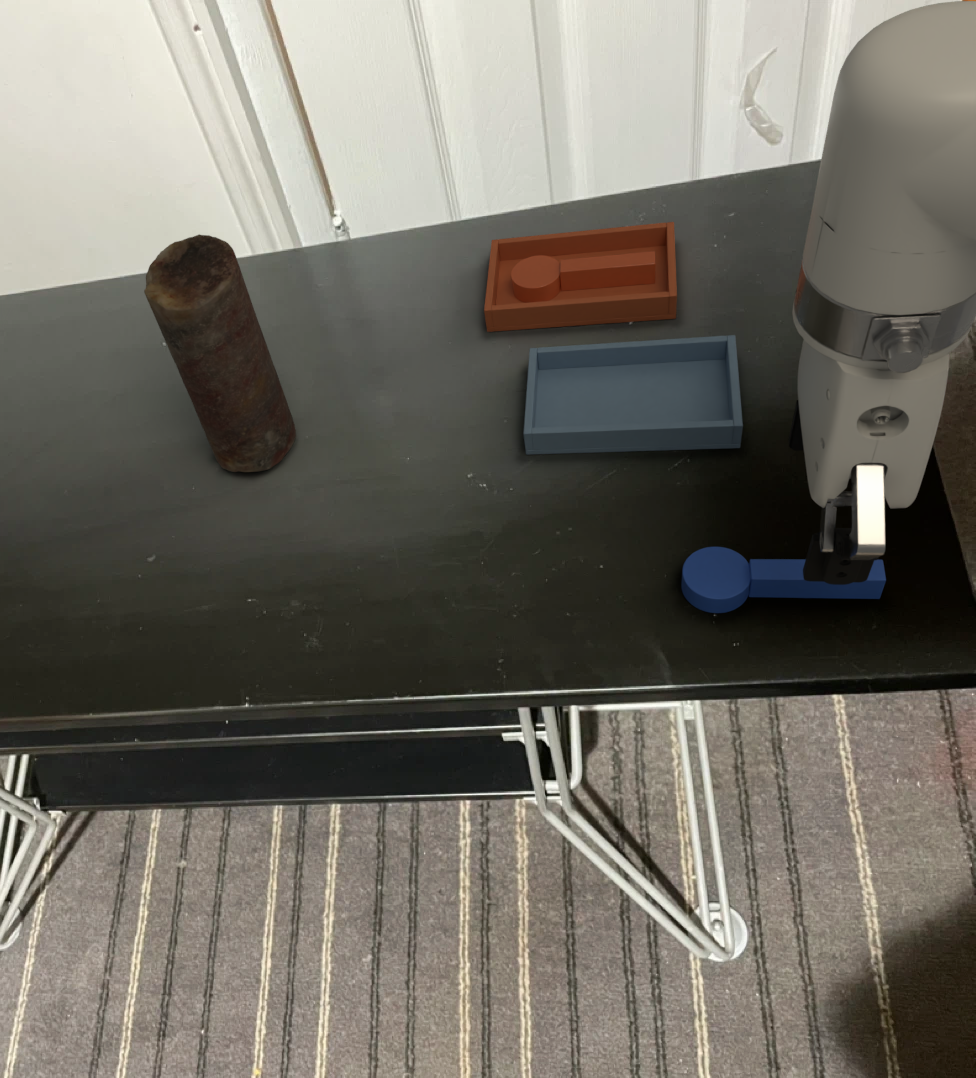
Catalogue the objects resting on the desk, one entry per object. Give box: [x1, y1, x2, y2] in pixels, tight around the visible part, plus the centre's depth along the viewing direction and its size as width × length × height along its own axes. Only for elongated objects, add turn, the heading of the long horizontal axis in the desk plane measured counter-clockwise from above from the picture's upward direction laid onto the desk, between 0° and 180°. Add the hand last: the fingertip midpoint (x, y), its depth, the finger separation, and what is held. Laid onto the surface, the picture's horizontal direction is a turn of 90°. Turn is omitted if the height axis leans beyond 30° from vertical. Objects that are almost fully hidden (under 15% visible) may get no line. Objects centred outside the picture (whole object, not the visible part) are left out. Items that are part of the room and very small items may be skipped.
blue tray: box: [523, 334, 744, 456], centre depth 80 cm, size 15×9×2 cm, turn 78°
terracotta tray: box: [483, 221, 678, 333], centre depth 89 cm, size 15×9×2 cm, turn 78°
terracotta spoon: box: [511, 251, 656, 303], centre depth 88 cm, size 12×4×2 cm, turn 78°
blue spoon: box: [680, 546, 887, 614], centre depth 68 cm, size 12×4×2 cm, turn 78°
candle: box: [143, 233, 297, 473], centre depth 82 cm, size 8×7×20 cm
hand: (824, 509), depth 61 cm, fingers open, 9 cm apart
